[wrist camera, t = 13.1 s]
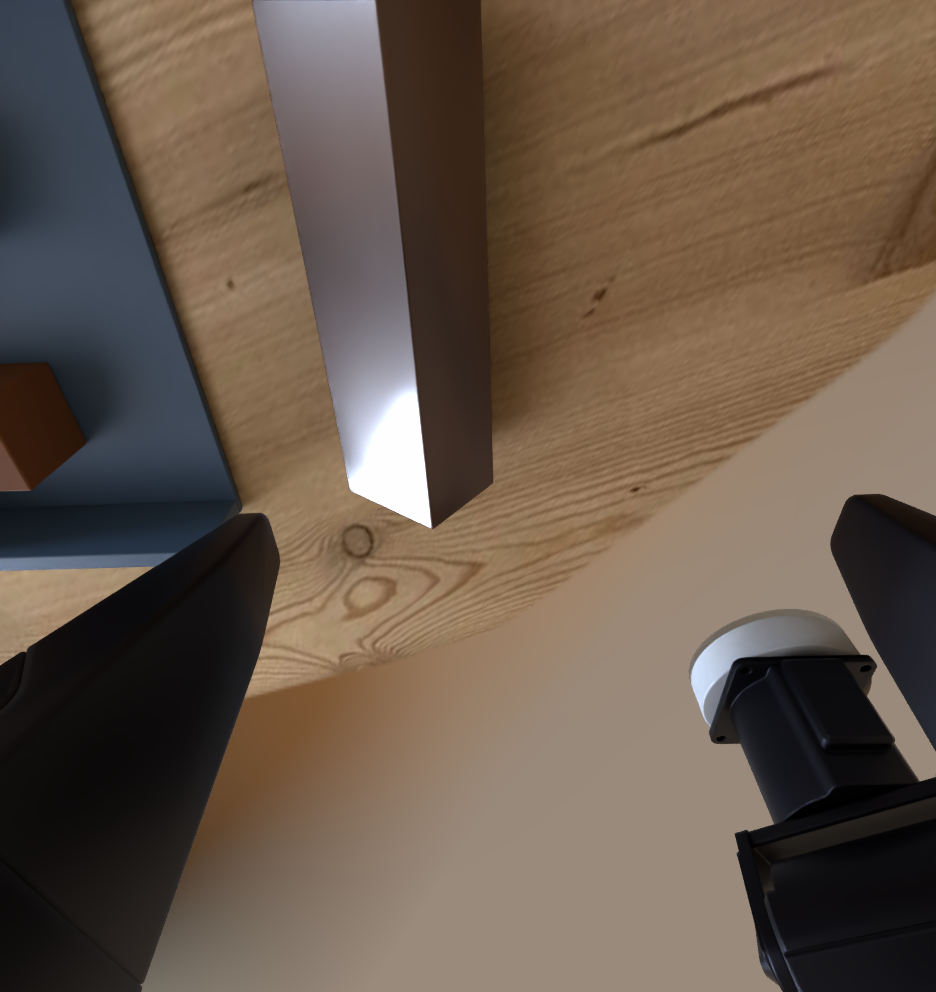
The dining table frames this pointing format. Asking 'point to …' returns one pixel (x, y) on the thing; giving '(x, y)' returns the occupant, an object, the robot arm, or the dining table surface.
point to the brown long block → (392, 233)
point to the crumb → (33, 426)
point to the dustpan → (93, 322)
